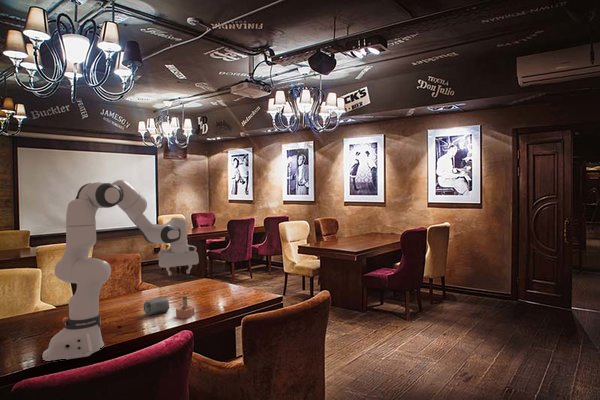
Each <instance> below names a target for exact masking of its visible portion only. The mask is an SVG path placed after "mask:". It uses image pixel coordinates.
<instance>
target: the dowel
mask: <svg viewBox="0 0 600 400" xmlns="http://www.w3.org/2000/svg"><path fill="white" fill-rule="evenodd" d="M181 298H182V306H183V309H188V308H187V305H188V296H187V295H184V296H182V297H181Z"/></svg>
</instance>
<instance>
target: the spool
mask: <svg viewBox="0 0 600 400" xmlns="http://www.w3.org/2000/svg"><path fill="white" fill-rule="evenodd" d="M169 310H170V302H169V299H168V298H167V297H165V296H163V297H161V296H160V297H156V298H151V299H149V300H146V301H145V302H144V304H143V311H144V314H146V316H152V315H156V314H161V313H165V312H168V311H169Z"/></svg>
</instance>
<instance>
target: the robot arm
mask: <svg viewBox="0 0 600 400" xmlns="http://www.w3.org/2000/svg"><path fill="white" fill-rule="evenodd" d="M116 205H117V207H118V208H120V209H121V210H122V211H123V212H124V214H126V215H127V217H128V218H129V219H130V221H132V223H133V224H134V225H135V227H136V228H138V230H139V231H140V232H141V234H142V236H143V238H144V239H145V241H146V242H147V243H150V244H163V245H164V244H165V245H167V244H169V246H170V248H163V249H161V250H159V251H158V266H159V268H165V270H166V271H167V273H168V274H167V275H168V277H169V276H172V275H173V273H172V271H171V270H170V268H171V267H172V268H174V267H182V266H183V267H184V266H188V269H186V270H185V271H186V274H187V275H189V274H190V273H191V269H192V268H193V265H195V266H196V265H198V264H199V263H200V261H199V259H200V258H199V254H198V252H197V247H196V246H194V245H192V244H188V222H187V220H186V219H185V218H183V217H171V219H170V220H169V221H168V222H166V223H164V224H157V223H153V222H151V221H150V220H149V218H147V216H146V215H145V214H144V213H145V211H146V210H147V207H148V202H147V199H146V198H145V196H144V195H143V194H141V192H140V191H139V190H137V188H135V186H133V185H131V184H130V183H129V182H127V181H126V180H123V179H119V180H116V181H113V182H112V183H111V182H90V183H86V184H84V185H81V187H80V188H79V189H78V191H77V194H76V197H75V199H72V200H71V201H70V202H68V205H67V208H66V215H65V235H66V237H65V240H66V241H65V242H66V243H65V248H64V251H63V255H62V257H61V258H60V259H59V261H57V262H56V264H55V265H54V275H55V277H56V278H57V279H58V280H60V281H62V282H65V283H67V284H68V283H69V284H76V290H75V293H74V294H73V295H72V296H70V298H69V299H68V314H69V315H68V316H69V317H67V316H66V317H63V319H62V323H63V328H62V329H61V330H60V331H58V333H56V334H55V335H54V336H53V337H52V338H51V339H50V340H49V341H50V342H49V344H48V348H47V349H45V350H44V351H43V353H42V355H41V356H42V358H43V359H42V360H45V361H51V360H57V359H66V360H71V359H72V360H73V359H79V358H86V357H90V356H91V355H92V354H94V353H96V352H98V351H100V350H101V349H100V348H102V347H103V346H104V347H105V343H104V340H103V337H102V332H101V325H102V323H101V322H102V321H101V320H102V319H101V314H100V310H99V309H100V305H99V304H100V303H99V301H100V299H99V298H100V293H101V289H102V287H103V285H104V284H105V283H106V282H107V281H108V280H109V278H110V277H111V273H112V268H111V264H110V263H109V262H108V261H106V260H103V259H100V258H96V257H89V253H90V251H91V249H92V247H93V246H95V244H96V243H97V222H96V221H97V220H96V214H97V211H98V209H105V208H107V209H109V208H113V207H115V206H116ZM104 347H103V348H104ZM103 348H102V349H103ZM45 361H44V362H45Z"/></svg>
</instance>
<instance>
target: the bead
mask: <svg viewBox="0 0 600 400" xmlns="http://www.w3.org/2000/svg"><path fill="white" fill-rule="evenodd" d="M187 308H188V309H183V305H181V306H178V307H176V308H175V316H176V318H177V319H188V318H192V317H193V316H194V315H195V314H196V313H195V311H196V310H195V306H193V305H188V304H187Z"/></svg>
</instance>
